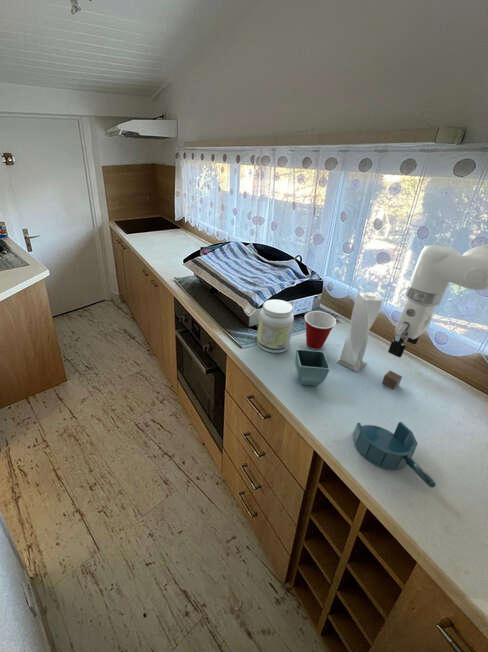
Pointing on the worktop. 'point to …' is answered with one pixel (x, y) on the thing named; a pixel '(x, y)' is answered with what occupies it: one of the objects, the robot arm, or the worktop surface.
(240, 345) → the worktop surface
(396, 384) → the block
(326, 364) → the flower pot
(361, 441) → the teal handled scoop
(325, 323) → the plastic cup
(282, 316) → the supplement tub
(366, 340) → the skyscraper
